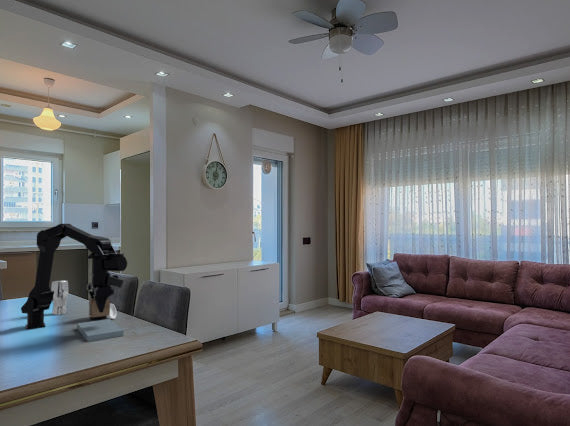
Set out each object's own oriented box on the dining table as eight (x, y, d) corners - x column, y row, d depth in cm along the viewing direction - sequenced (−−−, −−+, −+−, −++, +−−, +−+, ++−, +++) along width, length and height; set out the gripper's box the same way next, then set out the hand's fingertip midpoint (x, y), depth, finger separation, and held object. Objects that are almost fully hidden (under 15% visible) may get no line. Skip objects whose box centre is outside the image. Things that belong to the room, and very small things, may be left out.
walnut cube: (89, 314, 148) (89, 298, 149) (106, 312, 152) (106, 297, 152) (92, 317, 144) (92, 301, 144) (109, 315, 147) (109, 299, 147)
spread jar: (90, 316, 173) (90, 290, 173) (117, 314, 177) (117, 289, 178) (87, 322, 162) (87, 295, 162) (116, 320, 166) (116, 293, 166)
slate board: (77, 328, 153) (77, 323, 153) (109, 323, 160) (109, 318, 160) (87, 341, 135) (87, 336, 135) (123, 335, 142) (123, 330, 143)
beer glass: (71, 312, 180) (71, 281, 181) (55, 315, 175) (56, 282, 175) (63, 311, 184) (63, 279, 185) (47, 314, 178) (48, 281, 179)
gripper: (128, 271, 146) (127, 312, 145) (116, 266, 161) (115, 304, 160) (96, 273, 139) (95, 316, 139) (86, 268, 154) (86, 307, 153)
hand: (99, 310), depth 148 cm, fingers closed on walnut cube, 6 cm apart
